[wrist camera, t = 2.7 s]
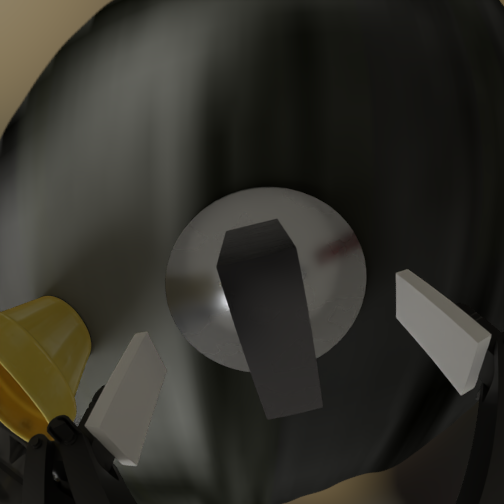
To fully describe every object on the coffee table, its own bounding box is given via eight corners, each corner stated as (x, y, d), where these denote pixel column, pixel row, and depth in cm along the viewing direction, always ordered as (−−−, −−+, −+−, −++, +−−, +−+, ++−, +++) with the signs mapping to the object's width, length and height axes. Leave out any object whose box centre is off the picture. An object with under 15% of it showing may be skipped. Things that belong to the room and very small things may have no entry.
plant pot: (13, 261, 17) (-63, 308, 8) (106, 288, 18) (29, 372, 8) (32, 354, 20) (-16, 413, 10) (115, 387, 21) (78, 469, 11)
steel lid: (204, 375, 20) (194, 446, 13) (144, 216, 17) (87, 248, 10) (364, 337, 20) (402, 399, 13) (344, 167, 16) (405, 169, 9)
